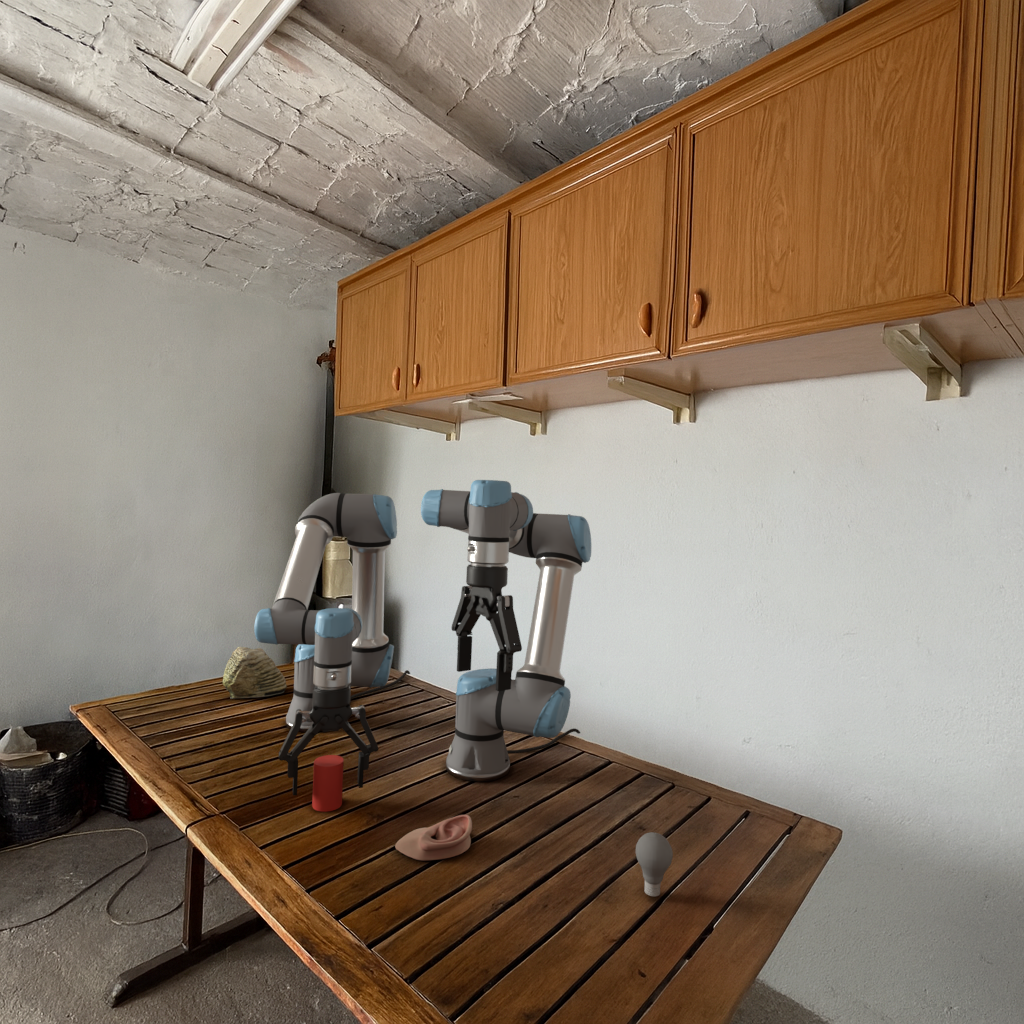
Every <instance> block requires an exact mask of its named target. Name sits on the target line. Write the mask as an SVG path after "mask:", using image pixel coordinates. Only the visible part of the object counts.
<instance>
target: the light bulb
mask: <svg viewBox="0 0 1024 1024" xmlns="http://www.w3.org/2000/svg"><path fill="white" fill-rule="evenodd" d="M673 853H674V852H673V848H672V845H671V844H670V842H669V841H668V839H667V838H666V837H665V836H664V835H662V834H661V833H659V832H654V831H652V832H647V833H644V834H643V835H641V837H639V839H638V840H637V842H636V843H635V857H636V860H637V862H638V864H639V866H640V868H641V870H642V877H643V879H644V888H643V890H644V893H645V894H646V895H648V896H650V897H658V896H660V895H661V884H662V882H663V880H664V875H665V873H666V872H667V870H668V869H669V868H670V866H671V864H672V861H673V858H674V857H673V856H674V854H673Z"/></svg>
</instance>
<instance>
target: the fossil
mask: <svg viewBox="0 0 1024 1024" xmlns="http://www.w3.org/2000/svg"><path fill="white" fill-rule="evenodd" d="M222 676H223V677H222V685H223V687H224V688H225V690H226V691H228V693H229V698H230V699H250V698H264V697H271V696H275V695H281V694H284V693H285V691H286V689H287V687H288V686H287V680H286V678H285V676H284V674H283V673H282V672H281V669H279V668H278V667H277V665H276V663H275V662H274V660H273V659H272V658H271V657H270V656H269V655H268V654H267V653H266V652H265V650H264V649H263V648H260V647H258V648H251V647H247V646H246V647H245V646H238V647H237V648H236V649H235V650H233V651H232V653H231V656H230V657H229V659H228V660H227V663H226V666H225V668H224V671H223V675H222Z"/></svg>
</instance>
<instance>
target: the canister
mask: <svg viewBox="0 0 1024 1024" xmlns="http://www.w3.org/2000/svg"><path fill="white" fill-rule="evenodd" d="M344 759H345V758H344V757H342V756H341V755H336V754H326V755H321V756H318V757H316V758H315V759H314V761H313V775H312V776H313V778H312V779H313V780H312V799H311V800H312V801H311V802H312V803H311V807H312V809H313V810H315V811H317V812H321V813H325V812H326V813H327V812H333V811H336V810H337V809H339V808H340V807H341V806H342V805H343V784H344V783H343V782H344V763H345V761H344Z"/></svg>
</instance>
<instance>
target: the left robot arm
mask: <svg viewBox="0 0 1024 1024" xmlns="http://www.w3.org/2000/svg"><path fill="white" fill-rule="evenodd" d="M394 502H395V501H394V500H393V498H392V497H390V496H389V495H383V494H376V493H344V492H343V493H342V492H332V493H329V494H325V495H323V496H321V497H319V498H318V499H316V500H315V501H313V502H312V503H311V504H309V505H308V506H307V507H306V508H305V509H304V511H302V513H301V515H299V517H298V518H297V519H298V520H297V521H296V524H295V527H294V534H295V540H294V543H293V546H292V549H291V551H290V555H289V557H288V561H287V563H286V566H285V569H284V572H283V574H282V578H281V581H280V583H279V587H278V589H277V592H276V594H275V598H274V601H273V603H272V607H267V608H262V609H260V610H259V611H258V612H257V613H256V616H255V620H254V625H253V627H254V637H255V639H256V641H257V642H259V643H260V644H270V645H296V648H295V655H294V659H293V662H294V672H293V695H292V696H293V697H292V699H291V702H290V704H289V708H288V711H287V713H286V715H285V726H286V728H287V729H289V731H288V734H287V735H286V736H285V739H284V742H283V743H282V745H281V747H280V750H279V751H278V760H279V761H281V762H283V761H285V762H286V763H287V778H288V779H292V796H298V780H299V779H298V777H299V758H298V757H299V756H300V755H301V753H302V752H303V751H304V750H305V748H306V747H307V746H308V745H309V744H310V743H311V741H312V740H313V739H314V738H315V736H317V735H318V733H320V732H322V733H328V732H331V731H332V732H339V731H340V730H343V731H344V733H345V734H346V735H348V737H349V738H350V739H351V741H352V742H353V743H354V744H355V745H356V747H357V748H358V749H359V750H360V751H358V759H357V760H358V761H357V762H358V764H357V786H358V788H359V789H362V788H364V771H367V770H369V769H370V756H371V754H372V753H374V752H378V751H379V746H378V742H377V740H376V738H375V735H374V734H373V731H372V729H371V727H370V724H369V722H368V720H367V714H366V707H365V705H363V704H360V705H358V706H357V707H351V700H353V699H356V698H359V697H361V696H365V695H368V694H372V693H375V692H379V691H381V690H384V689H387V688H390V687H393V686H395V685H396V684H398V683H400V682H401V681H402V680H403V679H404V678H405V677H406V676H407V675H411V672H410V670H409V669H408V670H405V671H404V672H403V673H402V675H400V676H399V677H398V678H397V679H395V680H394V681H392V682H389V683H388V681H389V678H390V673H391V668H392V663H393V658H394V653H395V652H394V650H395V645H394V644H391V643H389V642H390V641H389V636H388V635H386V634H385V632H384V621H385V620H384V618H385V615H384V613H385V574H386V573H385V570H386V551H387V549H388V548H389V547H390V546H391V545H392V540H394V539H396V538H397V536H398V535H397V534H398V527H397V526H398V519H397V512H396V506H395V503H394ZM334 537H341V538H343V537H344V538H346V544H347V546H348V547H349V548H350V549H351V550H352V579H351V581H352V583H351V585H352V587H351V588H352V589H351V591H352V592H351V608H348V607H344V608H342V607H329V608H328V607H327V608H325V609H320V610H316V609H315V610H314V609H309V606H310V603H311V599H312V596H313V591H314V589H315V585H316V582H317V578H318V575H319V571H320V567H321V564H322V561H323V558H324V554H325V550H326V547H327V545H329V544H330V543H331V542H332V540H333V538H334ZM352 687H353V688H354V687H355V688H370V689H367V690H365V691H362V692H358V693H355V694H352V695H351V693H352V689H351V688H352ZM352 715H354V716H355V718H356V719H359V722H360V724H361V726H362V729H363V731H364V733H365V735H366V738H367V740H368V743H369V744H368V745H367V744H366V742H365V741H364V740H363V739H362V738H361V737H360V735H359V734H358V733H357V732H356V730H355V729H354V728H353V726H352V725H351V724H350V722H349V719H350V718H351V717H352ZM299 732H301V733H304V734H303V736H301V738H300V739H299V740H298V742H297V743H296V744H295V745H294V746H293V743H294V741H295V740H296V737H297V735H298V733H299ZM292 746H293V748H292ZM291 748H292V749H291ZM289 751H290V752H289Z"/></svg>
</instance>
